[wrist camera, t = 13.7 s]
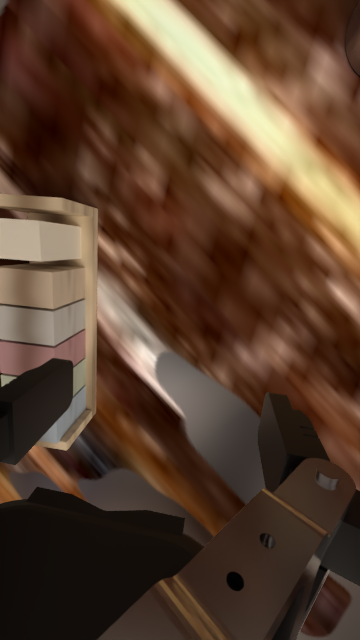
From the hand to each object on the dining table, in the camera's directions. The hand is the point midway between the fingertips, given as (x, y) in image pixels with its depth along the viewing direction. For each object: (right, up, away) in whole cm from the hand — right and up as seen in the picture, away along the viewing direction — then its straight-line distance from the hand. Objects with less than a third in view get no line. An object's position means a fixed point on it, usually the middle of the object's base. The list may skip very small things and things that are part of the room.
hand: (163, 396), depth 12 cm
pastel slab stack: (-16, +4, +31) cm, 35 cm away
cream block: (-15, +13, +27) cm, 34 cm away
